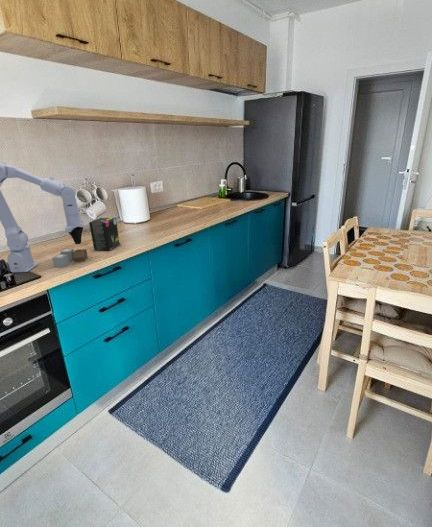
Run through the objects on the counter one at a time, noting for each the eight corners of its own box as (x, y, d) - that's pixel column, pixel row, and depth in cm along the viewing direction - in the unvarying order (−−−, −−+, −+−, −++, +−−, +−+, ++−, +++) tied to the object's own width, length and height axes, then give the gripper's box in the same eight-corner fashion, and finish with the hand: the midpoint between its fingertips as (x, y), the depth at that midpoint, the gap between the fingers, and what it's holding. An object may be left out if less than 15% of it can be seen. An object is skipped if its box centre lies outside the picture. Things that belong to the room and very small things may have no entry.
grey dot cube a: (72, 260, 144) (70, 251, 142) (62, 261, 143) (60, 252, 141) (74, 257, 148) (73, 248, 146) (64, 258, 147) (62, 249, 145)
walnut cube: (84, 261, 142) (82, 252, 140) (74, 261, 142) (72, 252, 140) (88, 258, 146) (86, 249, 145) (78, 258, 146) (76, 249, 145)
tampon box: (110, 251, 155) (105, 222, 150) (93, 250, 157) (88, 222, 152) (120, 244, 165) (116, 217, 160) (104, 244, 167) (100, 217, 162)
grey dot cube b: (63, 267, 135) (60, 257, 134) (54, 267, 136) (52, 257, 135) (69, 264, 139) (67, 254, 138) (61, 263, 141) (59, 253, 139)
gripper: (74, 217, 130) (80, 248, 135) (87, 210, 143) (92, 238, 148) (57, 218, 130) (64, 248, 134) (72, 211, 143) (77, 239, 148)
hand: (78, 243), depth 141 cm, fingers closed
